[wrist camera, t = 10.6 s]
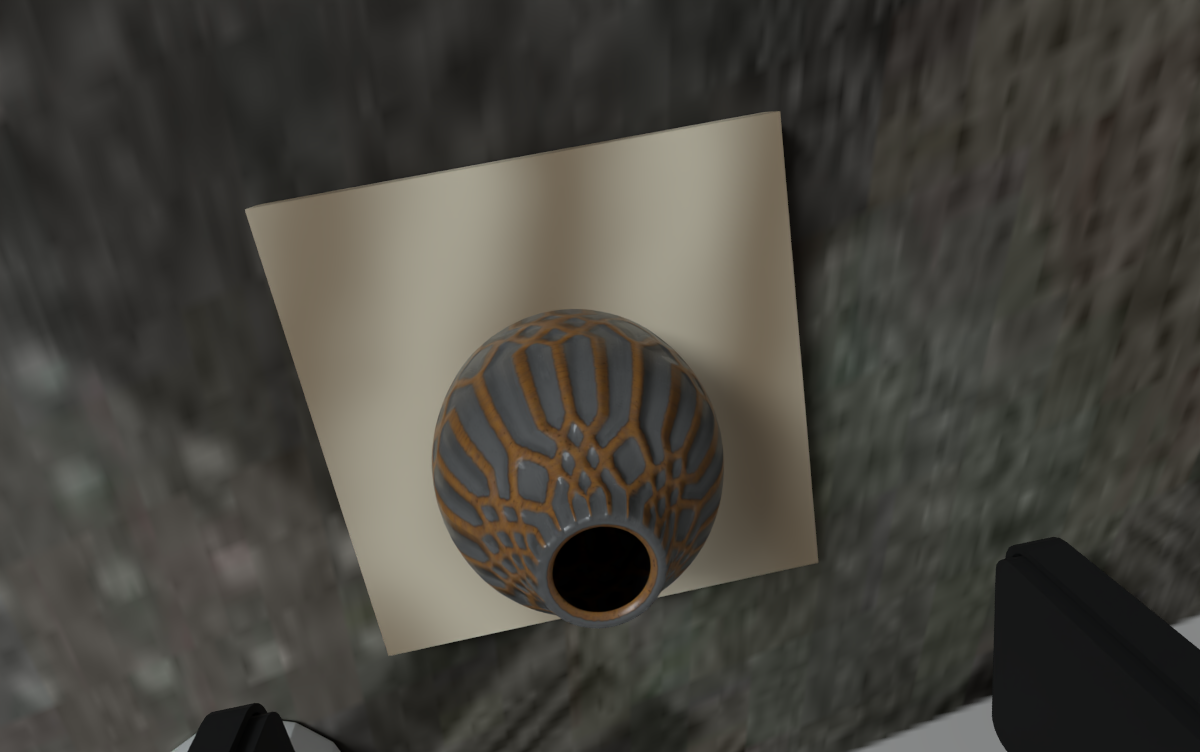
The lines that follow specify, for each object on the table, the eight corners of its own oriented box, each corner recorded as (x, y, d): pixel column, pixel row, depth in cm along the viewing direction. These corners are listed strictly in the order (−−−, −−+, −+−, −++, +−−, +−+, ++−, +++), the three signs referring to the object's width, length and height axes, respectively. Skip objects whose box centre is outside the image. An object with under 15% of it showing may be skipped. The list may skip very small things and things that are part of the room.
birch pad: (765, 111, 21) (780, 111, 20) (804, 543, 26) (818, 562, 25) (259, 204, 20) (244, 209, 19) (394, 631, 25) (388, 655, 24)
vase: (694, 488, 23) (799, 691, 15) (470, 529, 23) (449, 760, 14) (671, 266, 21) (778, 360, 13) (420, 306, 20) (363, 431, 12)
